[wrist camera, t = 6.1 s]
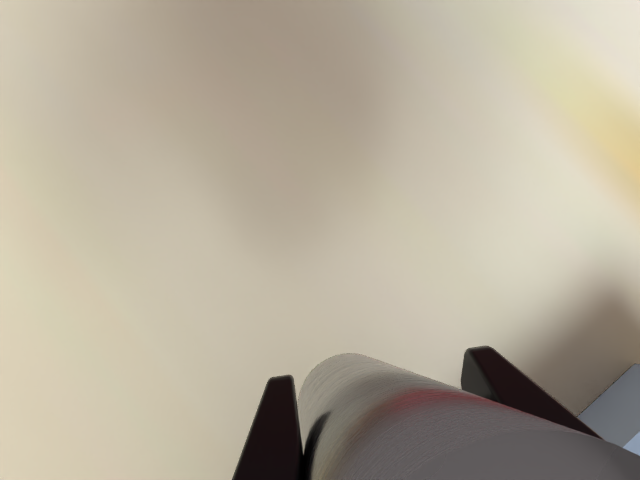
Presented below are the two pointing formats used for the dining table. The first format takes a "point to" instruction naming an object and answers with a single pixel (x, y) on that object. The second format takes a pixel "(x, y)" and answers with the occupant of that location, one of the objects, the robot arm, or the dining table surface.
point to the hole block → (618, 412)
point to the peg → (435, 432)
